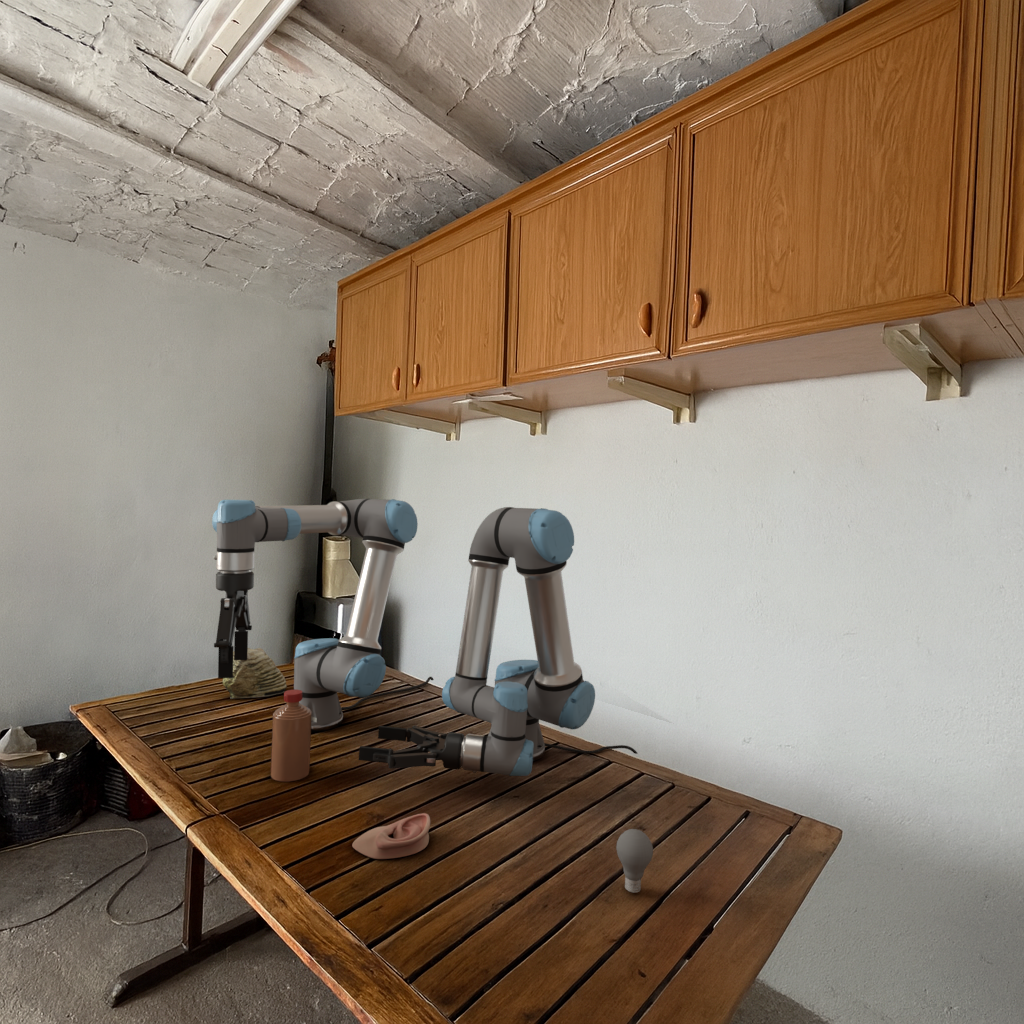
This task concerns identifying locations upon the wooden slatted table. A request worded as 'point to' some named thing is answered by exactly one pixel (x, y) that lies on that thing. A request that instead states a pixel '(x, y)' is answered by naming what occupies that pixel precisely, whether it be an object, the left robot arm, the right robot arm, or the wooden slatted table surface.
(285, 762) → the bottle
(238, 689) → the fossil
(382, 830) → the anatomical model
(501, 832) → the wooden slatted table surface
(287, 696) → the cap
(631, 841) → the light bulb
